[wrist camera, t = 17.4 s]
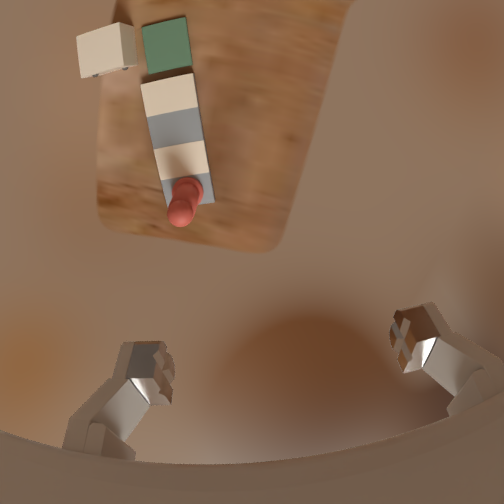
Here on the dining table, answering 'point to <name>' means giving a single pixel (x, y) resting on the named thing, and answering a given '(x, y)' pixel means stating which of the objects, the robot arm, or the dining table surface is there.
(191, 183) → the pawn
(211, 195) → the board
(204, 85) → the dining table surface
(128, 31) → the die
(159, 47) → the mat
